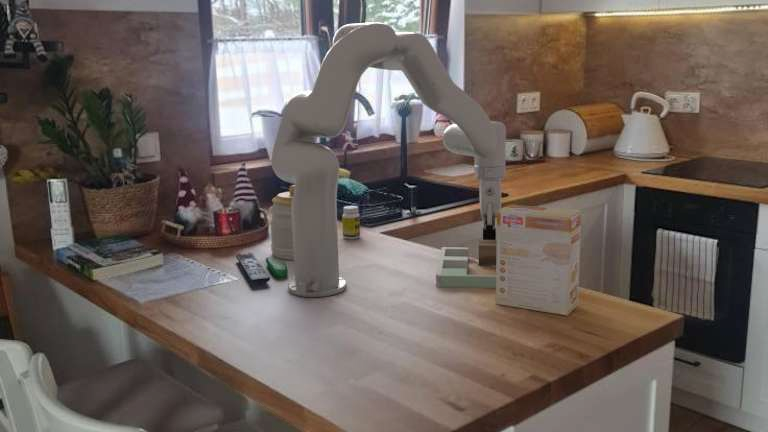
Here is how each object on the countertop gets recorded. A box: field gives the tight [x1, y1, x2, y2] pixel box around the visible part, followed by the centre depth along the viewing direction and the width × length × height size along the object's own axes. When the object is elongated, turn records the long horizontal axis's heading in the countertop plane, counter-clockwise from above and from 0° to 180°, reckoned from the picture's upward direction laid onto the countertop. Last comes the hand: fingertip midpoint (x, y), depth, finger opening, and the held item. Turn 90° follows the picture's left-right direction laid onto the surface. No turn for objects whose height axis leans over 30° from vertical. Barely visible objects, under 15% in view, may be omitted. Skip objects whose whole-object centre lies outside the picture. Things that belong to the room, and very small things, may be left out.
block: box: [478, 239, 497, 267], centre depth 180 cm, size 5×5×5 cm
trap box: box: [435, 246, 496, 289], centre depth 174 cm, size 23×18×2 cm
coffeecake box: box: [495, 204, 582, 317], centre depth 149 cm, size 15×7×20 cm, turn 59°
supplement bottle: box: [341, 205, 361, 240], centre depth 206 cm, size 5×5×8 cm
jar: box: [268, 184, 295, 261], centre depth 190 cm, size 13×13×18 cm
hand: (489, 243), depth 191 cm, fingers closed
